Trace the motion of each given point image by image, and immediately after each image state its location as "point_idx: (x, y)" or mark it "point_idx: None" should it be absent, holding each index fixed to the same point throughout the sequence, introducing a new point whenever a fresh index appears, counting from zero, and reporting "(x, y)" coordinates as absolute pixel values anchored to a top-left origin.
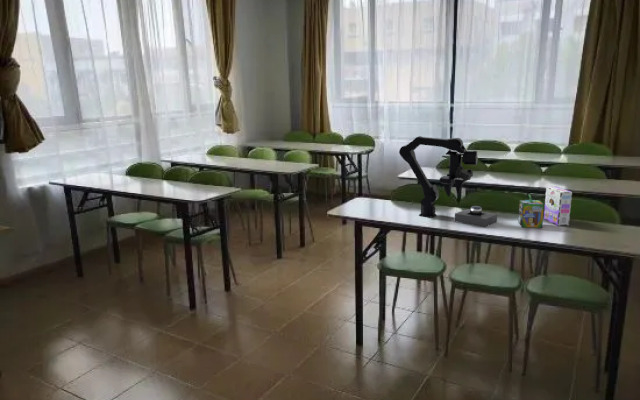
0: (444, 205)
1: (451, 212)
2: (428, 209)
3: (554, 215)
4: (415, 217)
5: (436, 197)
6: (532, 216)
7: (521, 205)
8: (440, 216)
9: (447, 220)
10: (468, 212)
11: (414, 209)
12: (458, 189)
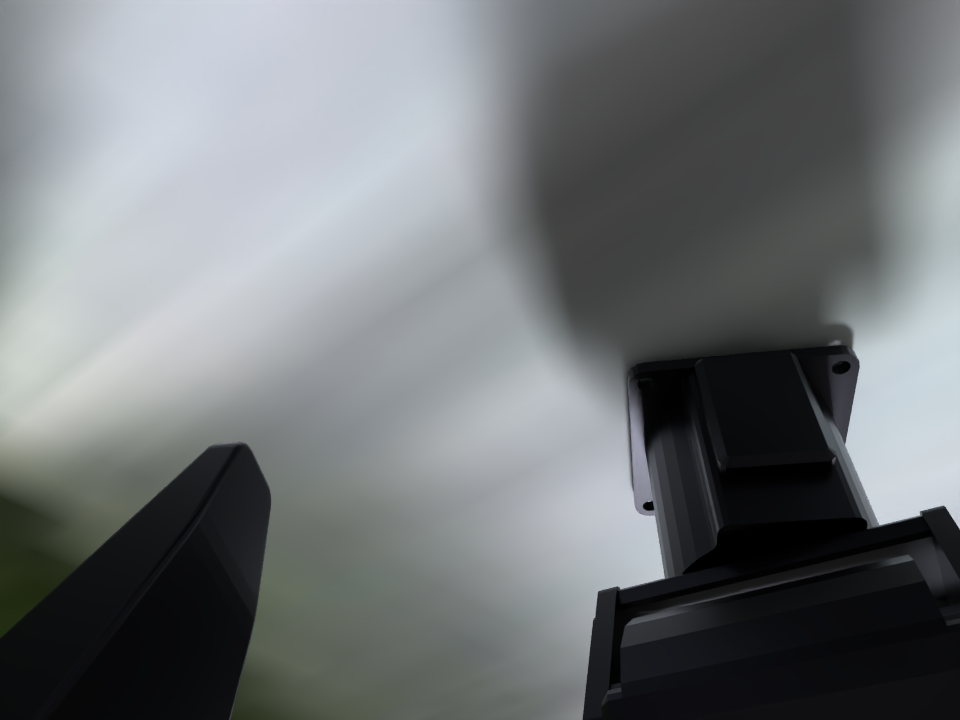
0: (75, 568)
1: (257, 324)
2: (851, 479)
3: None
4: (955, 466)
5: (926, 629)
6: None
7: None
8: (634, 285)
9: (834, 11)
10: None
11: (558, 648)
12: (192, 611)
